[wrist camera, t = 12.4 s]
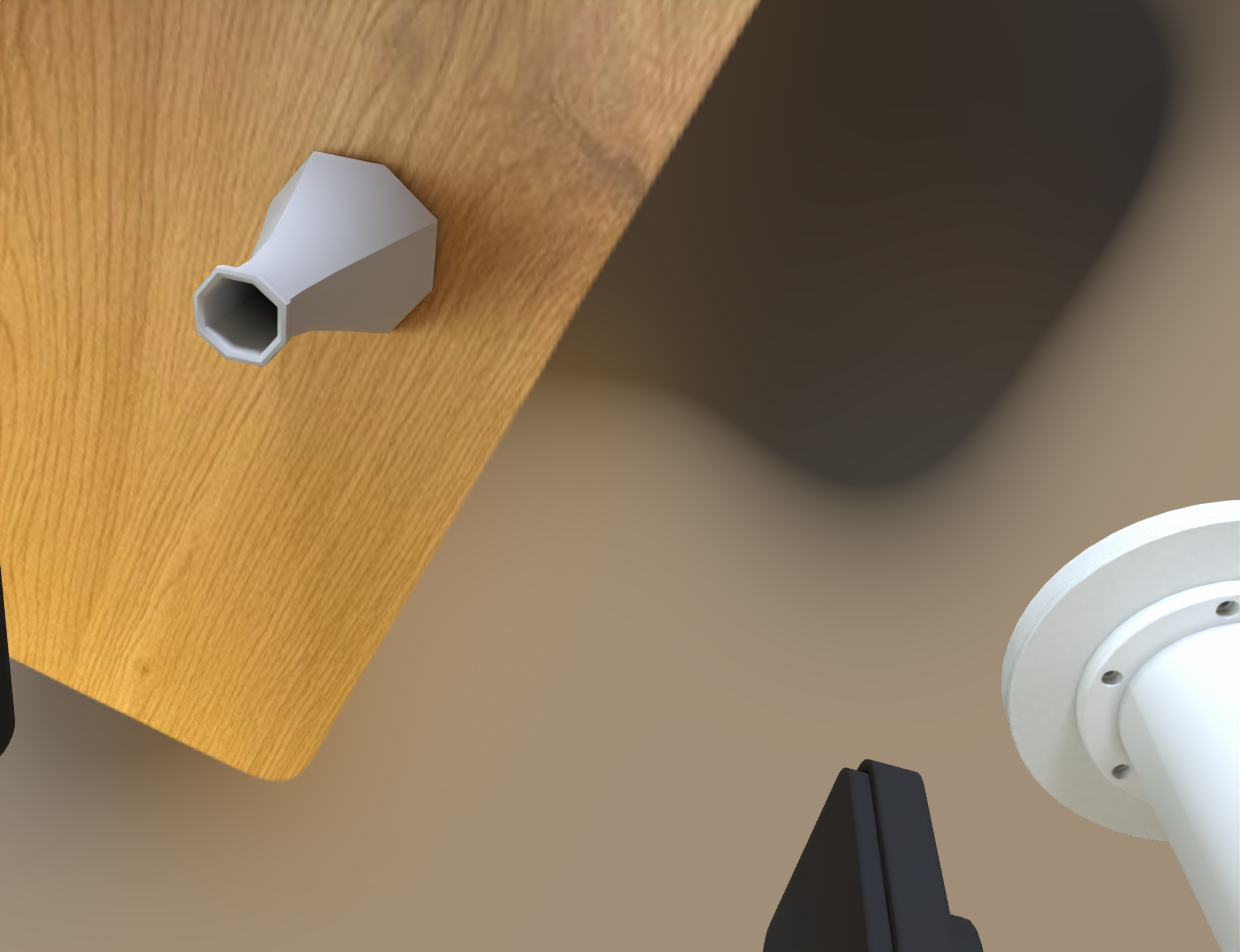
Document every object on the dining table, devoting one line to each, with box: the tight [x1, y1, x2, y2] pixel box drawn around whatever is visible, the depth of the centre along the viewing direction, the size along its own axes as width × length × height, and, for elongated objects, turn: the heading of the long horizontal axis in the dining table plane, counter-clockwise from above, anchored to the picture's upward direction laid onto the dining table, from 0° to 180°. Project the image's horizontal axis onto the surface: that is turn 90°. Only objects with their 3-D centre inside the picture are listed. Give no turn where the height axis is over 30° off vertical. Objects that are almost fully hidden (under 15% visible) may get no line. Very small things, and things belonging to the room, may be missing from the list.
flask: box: [194, 151, 438, 367], centre depth 35 cm, size 7×7×10 cm
